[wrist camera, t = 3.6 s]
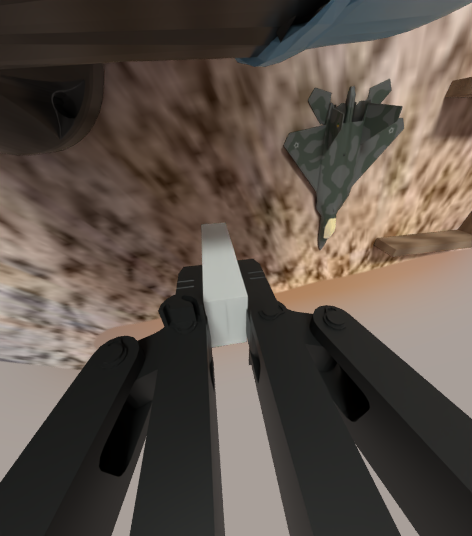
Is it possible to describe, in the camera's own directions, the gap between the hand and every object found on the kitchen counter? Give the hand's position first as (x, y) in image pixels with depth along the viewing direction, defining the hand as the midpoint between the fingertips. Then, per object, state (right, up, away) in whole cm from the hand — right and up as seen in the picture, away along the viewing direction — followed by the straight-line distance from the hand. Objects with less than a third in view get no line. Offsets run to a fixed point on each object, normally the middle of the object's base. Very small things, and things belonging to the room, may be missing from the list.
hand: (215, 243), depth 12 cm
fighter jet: (+13, +9, +11) cm, 19 cm away
